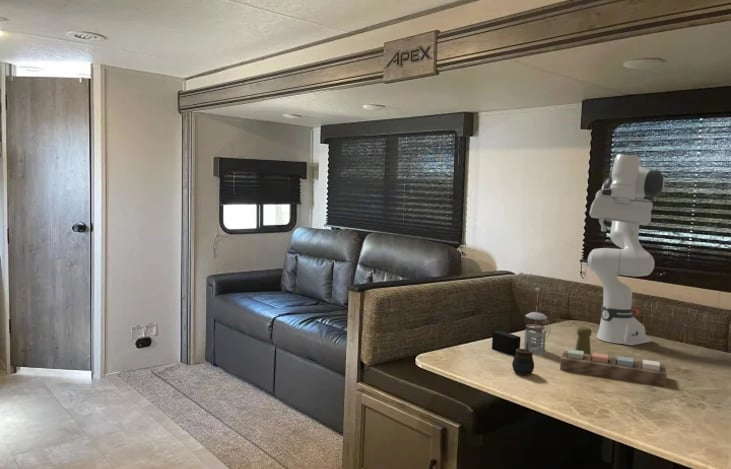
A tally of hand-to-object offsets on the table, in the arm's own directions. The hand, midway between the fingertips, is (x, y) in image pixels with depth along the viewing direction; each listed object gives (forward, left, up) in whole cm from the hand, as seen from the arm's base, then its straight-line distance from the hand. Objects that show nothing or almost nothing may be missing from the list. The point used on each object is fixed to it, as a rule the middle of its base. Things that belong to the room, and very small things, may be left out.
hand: (617, 233), depth 205 cm
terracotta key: (+8, +5, -45) cm, 46 cm away
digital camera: (+27, -24, -49) cm, 60 cm away
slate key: (+3, +10, -45) cm, 46 cm away
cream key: (-3, +16, -45) cm, 48 cm away
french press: (+14, -22, -48) cm, 55 cm away
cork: (0, -12, -48) cm, 50 cm away
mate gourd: (+36, 0, -48) cm, 61 cm away
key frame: (+5, +8, -48) cm, 49 cm away
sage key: (+14, -1, -45) cm, 47 cm away
